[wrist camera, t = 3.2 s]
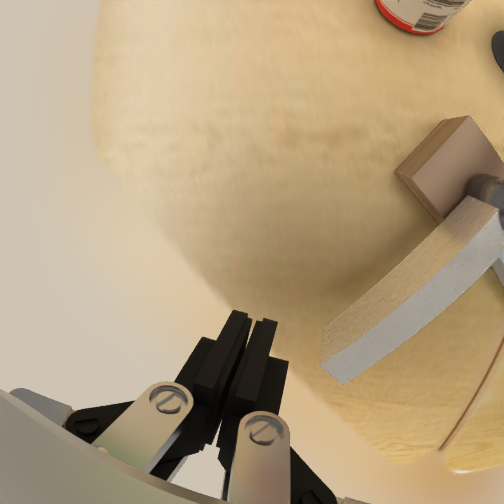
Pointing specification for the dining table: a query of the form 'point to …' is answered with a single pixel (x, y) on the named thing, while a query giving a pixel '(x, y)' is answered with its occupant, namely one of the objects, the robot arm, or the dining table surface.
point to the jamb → (449, 165)
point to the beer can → (421, 13)
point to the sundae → (499, 48)
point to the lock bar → (419, 283)
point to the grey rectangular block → (499, 268)
